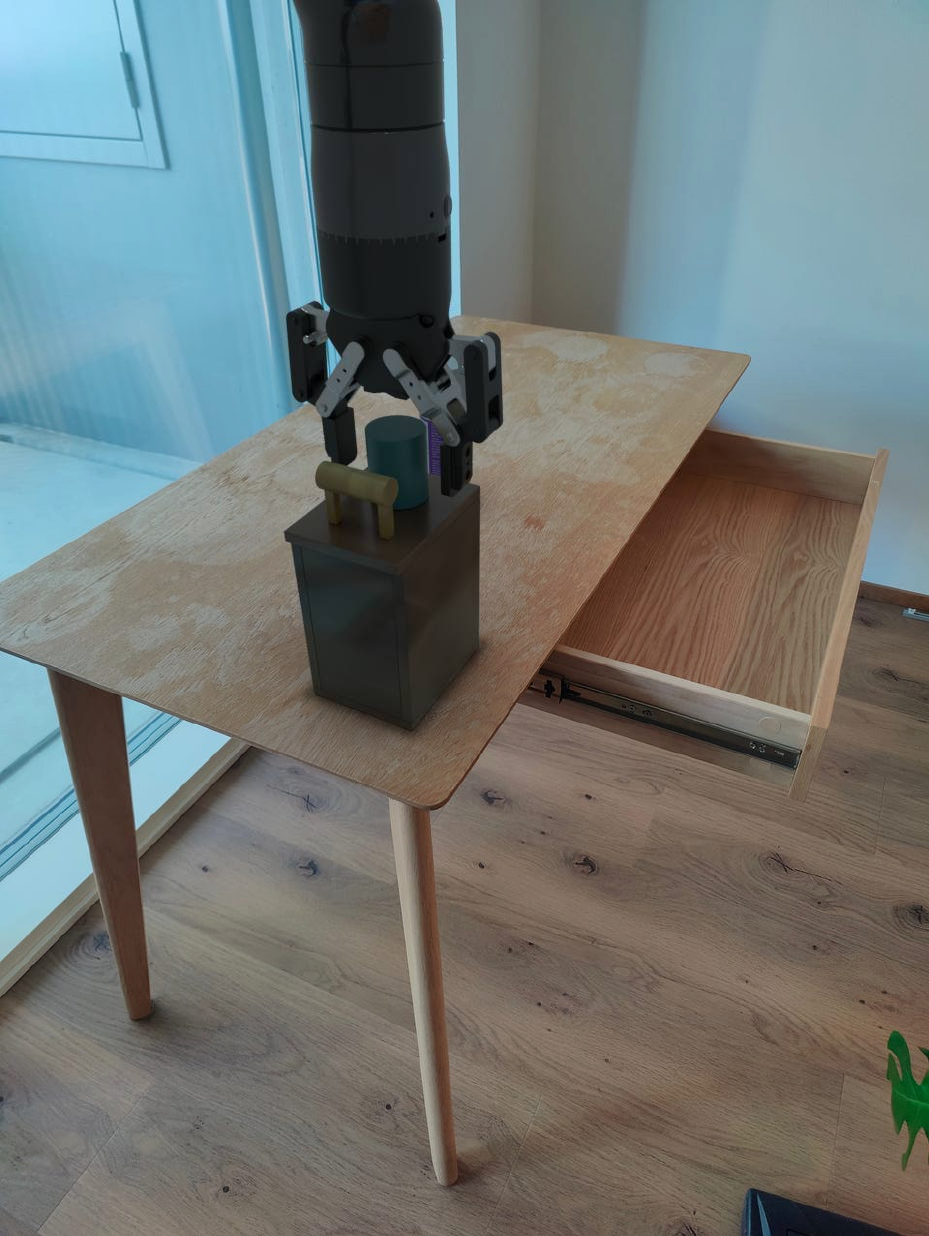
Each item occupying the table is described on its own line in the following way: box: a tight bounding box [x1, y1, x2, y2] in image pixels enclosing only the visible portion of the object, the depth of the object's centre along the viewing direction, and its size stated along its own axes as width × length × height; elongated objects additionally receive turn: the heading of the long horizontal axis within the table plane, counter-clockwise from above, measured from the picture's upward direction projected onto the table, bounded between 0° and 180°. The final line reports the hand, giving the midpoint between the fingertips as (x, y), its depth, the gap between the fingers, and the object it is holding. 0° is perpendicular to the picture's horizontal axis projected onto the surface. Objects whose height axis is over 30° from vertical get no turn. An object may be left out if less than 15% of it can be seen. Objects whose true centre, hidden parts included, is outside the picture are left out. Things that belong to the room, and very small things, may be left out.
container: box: [418, 356, 466, 476], centre depth 80 cm, size 5×5×15 cm
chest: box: [290, 495, 481, 732], centre depth 61 cm, size 11×9×14 cm
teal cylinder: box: [364, 414, 429, 510], centre depth 56 cm, size 4×4×5 cm
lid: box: [283, 460, 481, 576], centre depth 55 cm, size 11×9×5 cm
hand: (398, 477), depth 56 cm, fingers open, 8 cm apart
